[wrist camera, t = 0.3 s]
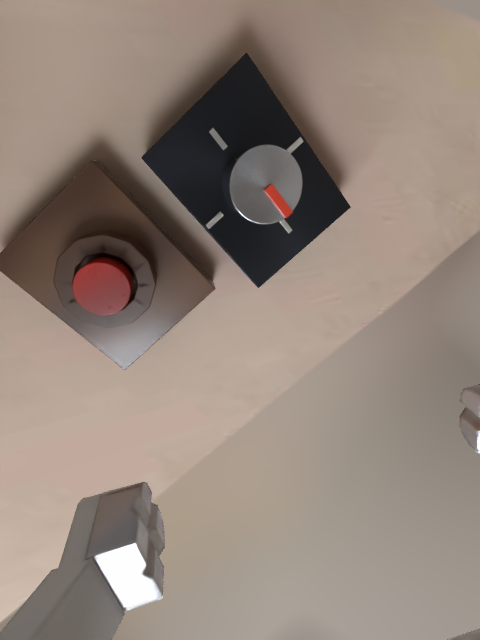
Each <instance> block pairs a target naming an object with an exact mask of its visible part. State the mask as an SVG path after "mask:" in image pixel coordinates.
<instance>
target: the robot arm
mask: <svg viewBox="0 0 480 640" xmlns="http://www.w3.org/2000/svg"><path fill="white" fill-rule="evenodd" d="M460 402H461V403H462V404H463V405H464V406H465V409H464V410H463V412H462V413H461V415H460V429H461V431H462V434H463V436H464V438H465V439H466V441H467V442H468V444H469V445H470V446H471V447H472V448H473V449H474V450H475V451H477V452H478V453H480V384H478V385H475V386H471V387H468V388H464V389H463V391H462V392H461V396H460ZM151 498H152V492H151V490H150V488H149V486H148V484H147V483H146V482H142V483H138V484H134V485H130V486H127V487H123V488H119V489H115V490H111V491H108V492H104V493H102V494H98V495H95V496H91V497H87V498H83V499H82V500H81V501H80V502H79V503H78V505H77V508H76V512H75V515H74V518H73V522H72V525H71V528H70V532H69V535H68V538H67V541H66V545H65V548H64V551H63V555H62V558H61V561H60V565H59V568H57V569H54V570H51V572H50V573H49V574H48V575H47V576H46V578H45V579H44V580H43V581H42V582H41V584H40V585H39V586H38V587H37V588H36V590H35V591H34V592H33V593H32V594H31V596H30V597H29V598H28V599H27V601H26V602H25V603H24V604H23V605H22V607H21V608H20V609H19V610H18V611H17V613H16V614H15V615H14V617H12V619H11V620H10V621H9V622H8V623H7V625H6V626H5V627H4V628H3V630H2V631H1V632H0V640H112V638H113V636H114V634H115V632H116V630H117V628H118V626H119V624H120V622H121V620H122V618H123V616H124V612H123V611H126V610H129V609H132V608H135V607H138V606H141V605H144V604H146V603H149V602H152V601H155V600H158V599H161V598H163V576H164V566H163V564H162V562H161V560H160V557H159V556H160V554H161V552H162V551H163V549H164V548H165V547H164V545H165V535H164V525H163V520H162V516H161V512H160V510H159V508H158V505H156V504H153V503H152V502H151ZM447 640H480V629H477V630H474V631H471V632H468V633H465V634H462V635H459V636H457V637H454V638H451V639H447Z"/></svg>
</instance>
